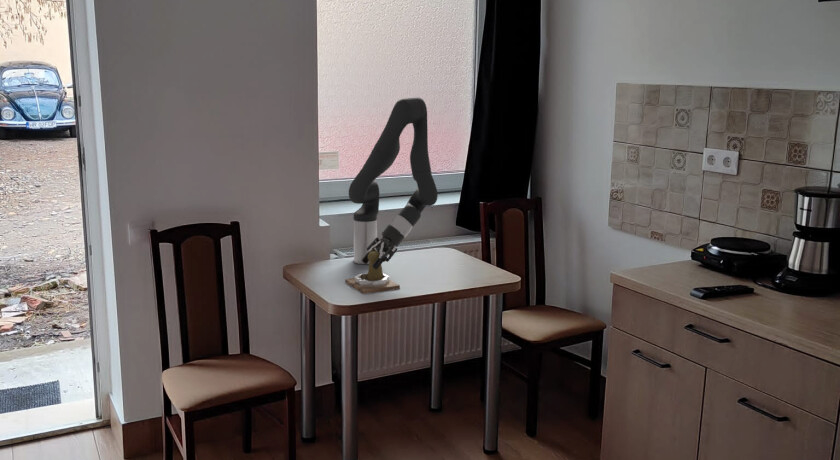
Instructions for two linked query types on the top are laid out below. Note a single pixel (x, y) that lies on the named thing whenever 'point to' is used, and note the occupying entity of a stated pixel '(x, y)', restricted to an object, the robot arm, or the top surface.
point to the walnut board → (365, 289)
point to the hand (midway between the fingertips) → (368, 265)
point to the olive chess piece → (372, 272)
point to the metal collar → (369, 283)
